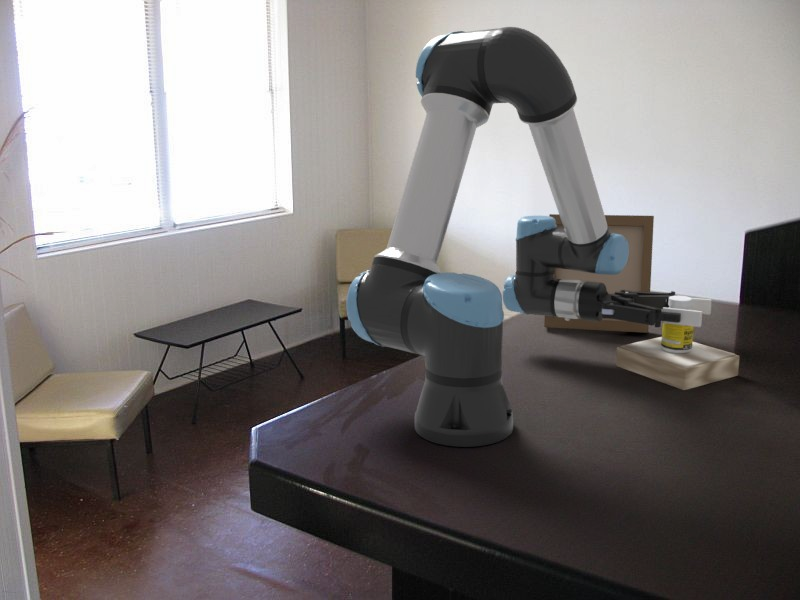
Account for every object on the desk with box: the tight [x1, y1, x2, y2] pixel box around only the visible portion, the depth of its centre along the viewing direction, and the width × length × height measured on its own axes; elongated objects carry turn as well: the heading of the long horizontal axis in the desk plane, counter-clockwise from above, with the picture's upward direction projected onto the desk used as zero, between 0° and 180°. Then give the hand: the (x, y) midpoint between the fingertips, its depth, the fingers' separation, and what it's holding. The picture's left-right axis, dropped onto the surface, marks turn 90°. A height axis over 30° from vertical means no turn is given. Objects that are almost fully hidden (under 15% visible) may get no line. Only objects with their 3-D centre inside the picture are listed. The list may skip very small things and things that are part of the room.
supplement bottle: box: [661, 295, 695, 354], centre depth 145 cm, size 5×5×10 cm
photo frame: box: [543, 213, 655, 334], centre depth 175 cm, size 15×22×25 cm
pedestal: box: [615, 336, 740, 391], centre depth 147 cm, size 14×16×4 cm
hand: (706, 312), depth 142 cm, fingers open, 9 cm apart
